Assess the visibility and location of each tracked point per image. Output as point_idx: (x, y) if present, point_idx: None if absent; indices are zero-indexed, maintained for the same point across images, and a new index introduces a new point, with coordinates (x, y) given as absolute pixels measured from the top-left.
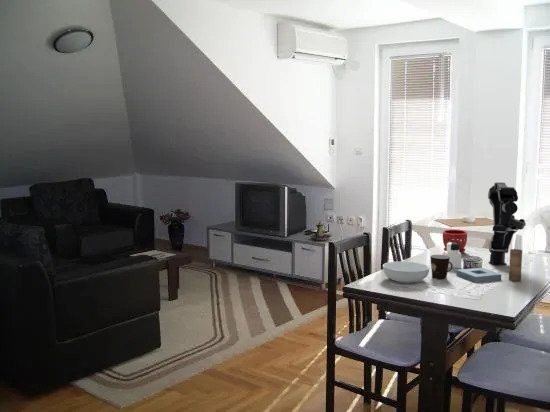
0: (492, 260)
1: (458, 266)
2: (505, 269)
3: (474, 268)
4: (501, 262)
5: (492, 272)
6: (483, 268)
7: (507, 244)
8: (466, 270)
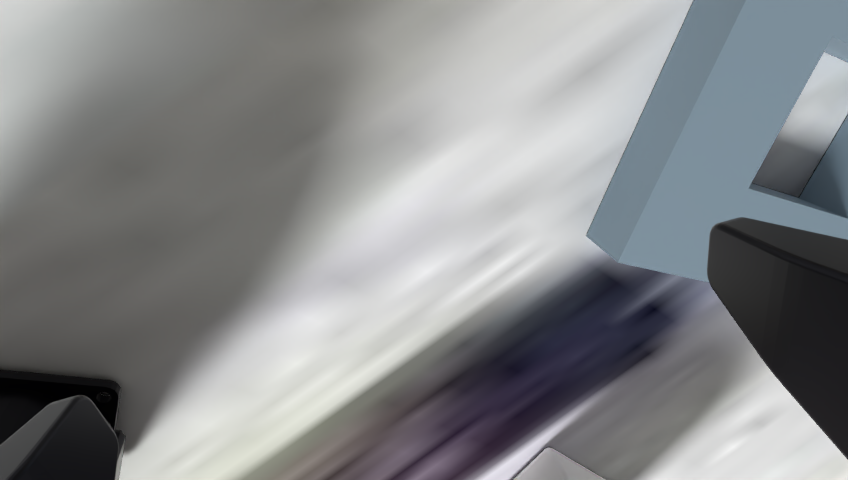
0: (116, 472)
1: (570, 462)
2: (192, 193)
3: (706, 272)
4: (8, 400)
5: (777, 17)
6: (645, 221)
7: (114, 451)
8: None
